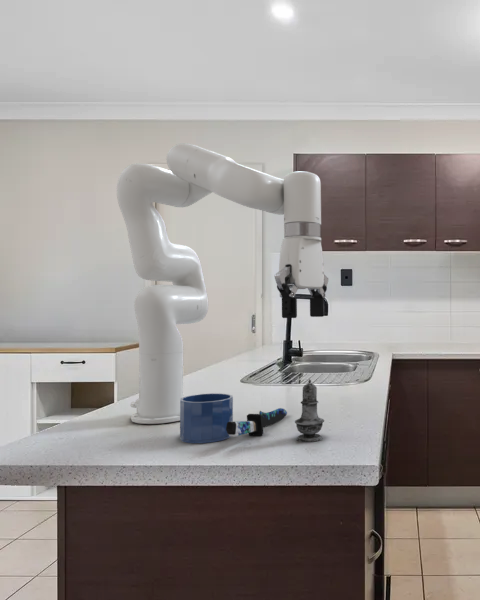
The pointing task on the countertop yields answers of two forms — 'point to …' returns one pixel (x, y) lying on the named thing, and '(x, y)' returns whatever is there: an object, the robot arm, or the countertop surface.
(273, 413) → the knife
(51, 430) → the countertop surface
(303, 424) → the salt shaker
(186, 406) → the blue cup
